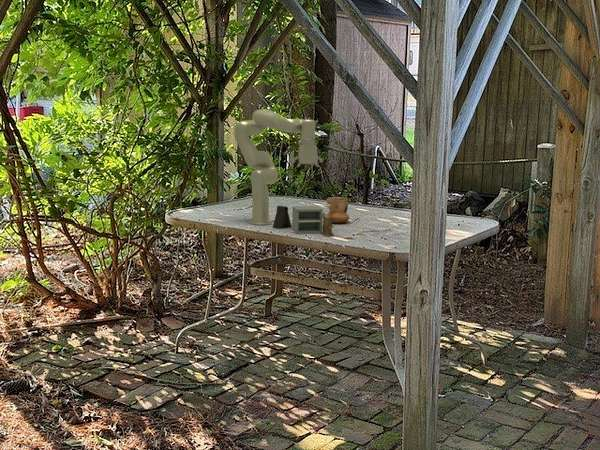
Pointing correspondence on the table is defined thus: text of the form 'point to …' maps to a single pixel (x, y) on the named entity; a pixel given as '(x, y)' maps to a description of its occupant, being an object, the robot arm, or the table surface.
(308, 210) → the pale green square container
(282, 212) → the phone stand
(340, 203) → the ceramic jug
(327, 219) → the tan rectangular block
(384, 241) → the table surface
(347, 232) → the table surface
